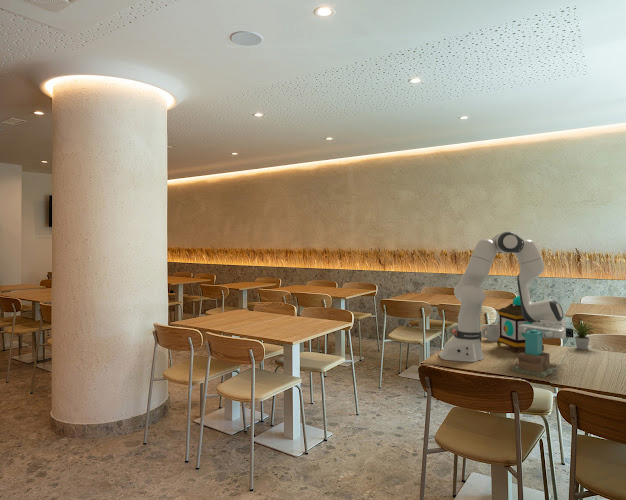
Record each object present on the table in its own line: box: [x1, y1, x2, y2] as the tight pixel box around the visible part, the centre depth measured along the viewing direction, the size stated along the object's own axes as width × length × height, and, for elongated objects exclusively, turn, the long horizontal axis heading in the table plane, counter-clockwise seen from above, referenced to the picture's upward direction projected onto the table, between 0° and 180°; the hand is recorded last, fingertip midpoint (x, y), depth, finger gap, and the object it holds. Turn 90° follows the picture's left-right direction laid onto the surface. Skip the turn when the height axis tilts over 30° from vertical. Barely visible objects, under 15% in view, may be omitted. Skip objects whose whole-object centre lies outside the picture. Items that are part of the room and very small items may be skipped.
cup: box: [481, 324, 500, 343], centre depth 272 cm, size 7×10×9 cm
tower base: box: [511, 350, 557, 378], centre depth 210 cm, size 14×14×8 cm
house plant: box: [571, 319, 599, 350], centre depth 247 cm, size 14×14×16 cm
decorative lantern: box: [496, 295, 545, 354], centre depth 250 cm, size 20×20×30 cm
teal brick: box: [524, 330, 543, 356], centre depth 209 cm, size 6×6×11 cm
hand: (534, 333), depth 210 cm, fingers open, 8 cm apart
